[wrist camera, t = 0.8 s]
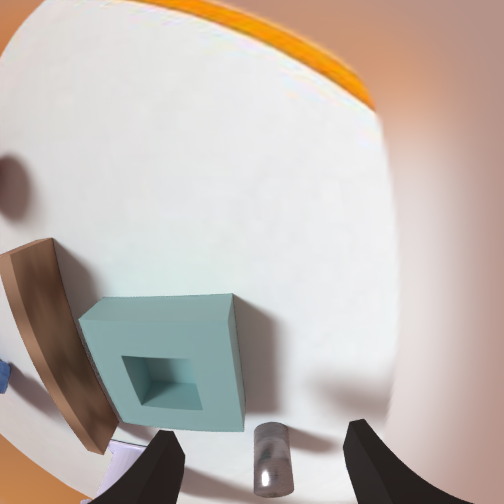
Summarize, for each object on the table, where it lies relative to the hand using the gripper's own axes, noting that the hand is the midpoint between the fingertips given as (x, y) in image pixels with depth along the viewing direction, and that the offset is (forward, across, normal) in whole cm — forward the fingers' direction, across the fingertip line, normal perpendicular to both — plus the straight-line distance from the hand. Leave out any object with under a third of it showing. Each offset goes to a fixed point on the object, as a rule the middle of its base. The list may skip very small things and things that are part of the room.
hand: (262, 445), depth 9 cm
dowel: (+10, 0, +12) cm, 16 cm away
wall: (+10, +17, +2) cm, 19 cm away
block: (+10, +7, +2) cm, 12 cm away
